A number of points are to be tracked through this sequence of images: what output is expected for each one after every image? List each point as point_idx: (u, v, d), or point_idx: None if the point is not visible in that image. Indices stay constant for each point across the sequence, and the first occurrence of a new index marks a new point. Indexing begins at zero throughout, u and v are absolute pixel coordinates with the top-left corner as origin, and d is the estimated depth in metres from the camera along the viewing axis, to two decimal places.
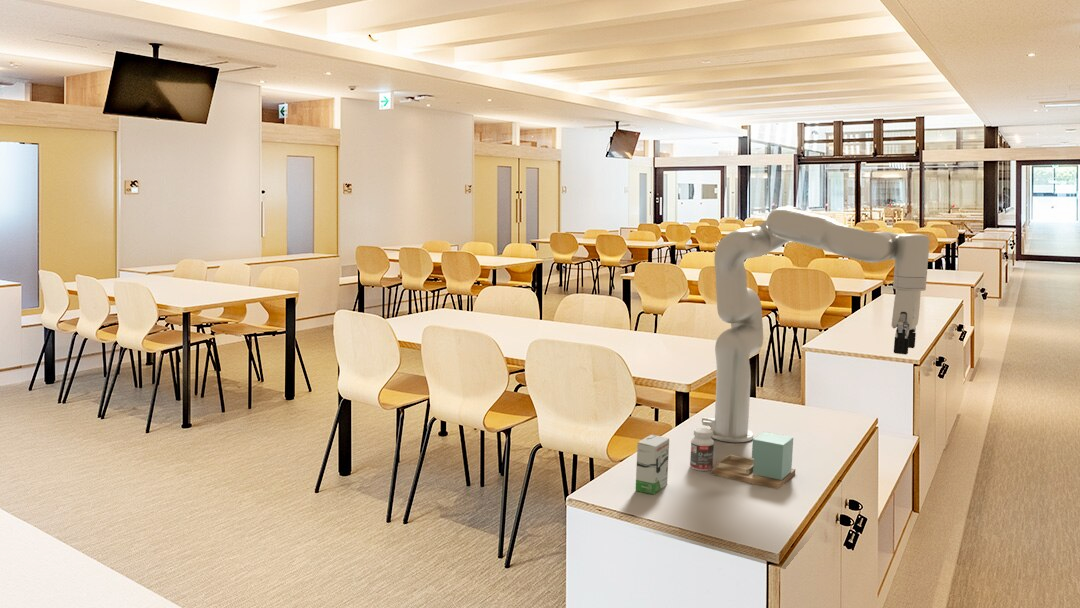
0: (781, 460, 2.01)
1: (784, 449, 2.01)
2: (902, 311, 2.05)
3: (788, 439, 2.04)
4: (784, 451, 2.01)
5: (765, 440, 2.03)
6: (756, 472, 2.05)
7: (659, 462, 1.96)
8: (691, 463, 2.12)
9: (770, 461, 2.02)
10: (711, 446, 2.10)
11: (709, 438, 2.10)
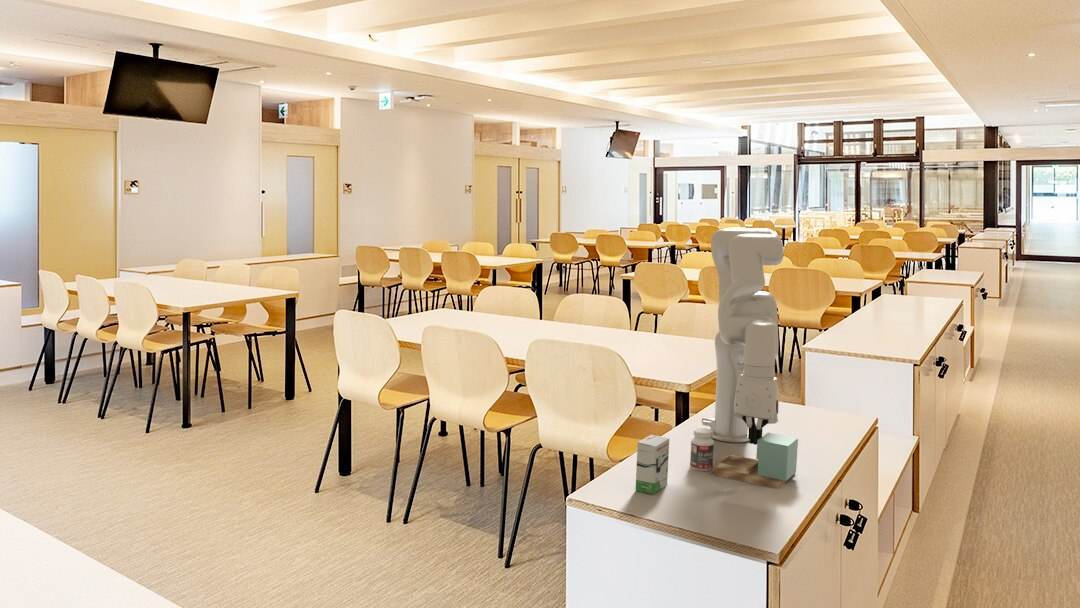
0: (786, 461, 2.00)
1: (789, 450, 2.00)
2: None
3: (793, 440, 2.04)
4: (789, 452, 2.00)
5: (770, 441, 2.03)
6: (761, 473, 2.04)
7: (659, 462, 1.96)
8: (691, 463, 2.12)
9: (775, 462, 2.02)
10: (711, 446, 2.10)
11: (709, 438, 2.10)
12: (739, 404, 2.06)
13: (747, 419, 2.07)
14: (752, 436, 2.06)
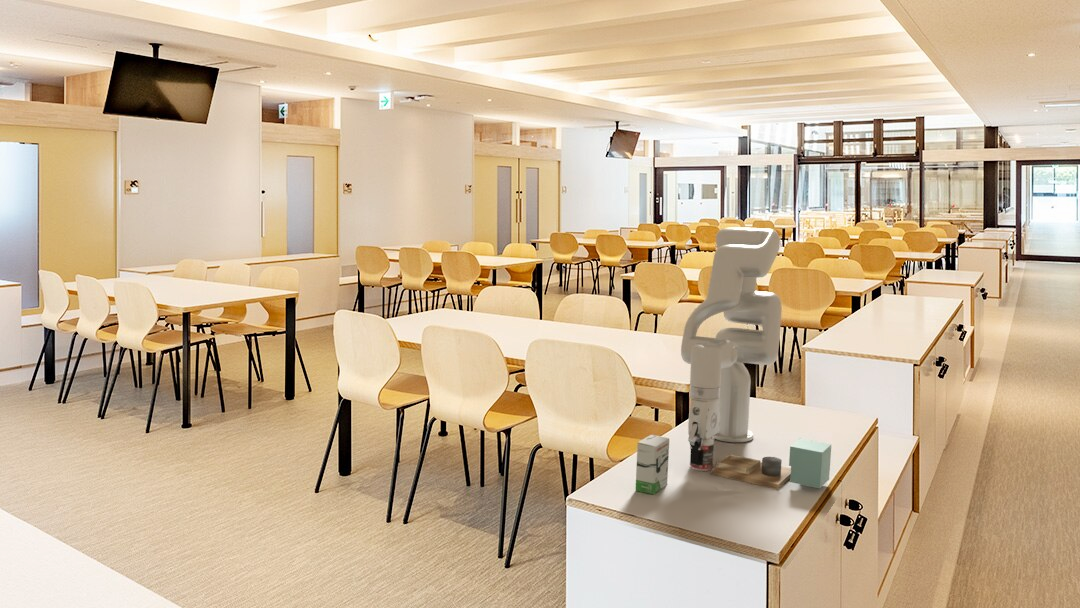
0: (820, 468, 1.95)
1: (823, 457, 1.96)
2: None
3: (826, 446, 1.99)
4: (823, 459, 1.96)
5: (803, 447, 1.98)
6: (794, 480, 1.99)
7: (659, 462, 1.96)
8: None
9: (808, 469, 1.97)
10: (711, 446, 2.10)
11: (709, 438, 2.10)
12: (707, 429, 2.07)
13: (701, 442, 2.08)
14: (702, 457, 2.09)
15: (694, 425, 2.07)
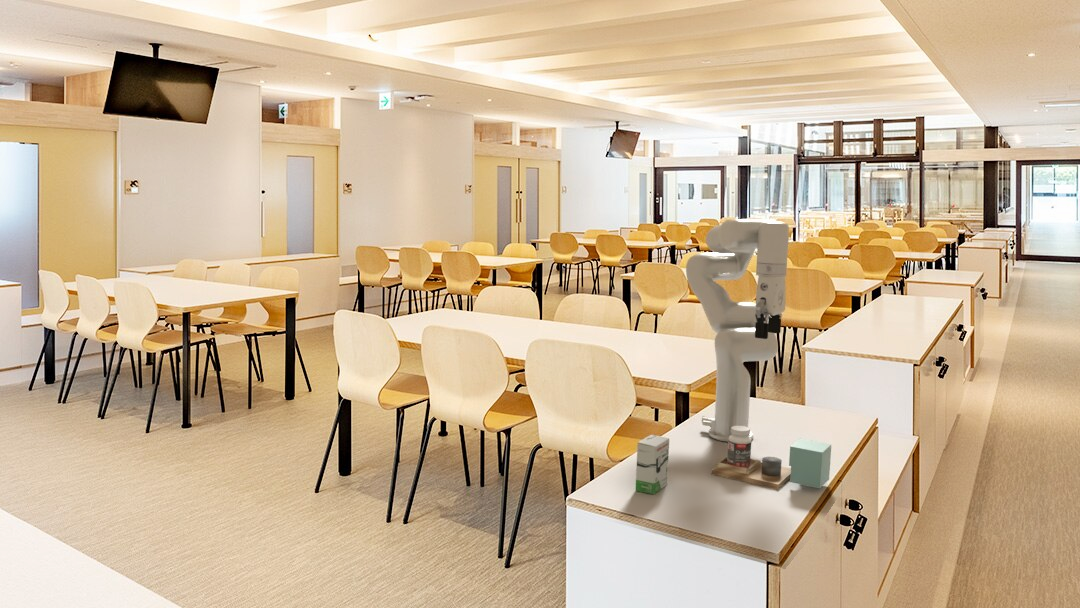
0: (820, 468, 1.95)
1: (823, 457, 1.96)
2: None
3: (826, 446, 1.99)
4: (823, 459, 1.96)
5: (803, 447, 1.98)
6: (794, 480, 1.99)
7: (659, 462, 1.96)
8: (728, 461, 2.11)
9: (808, 469, 1.97)
10: (749, 444, 2.08)
11: (747, 436, 2.09)
12: (775, 305, 2.10)
13: (767, 315, 2.10)
14: (767, 331, 2.11)
15: (762, 299, 2.10)
